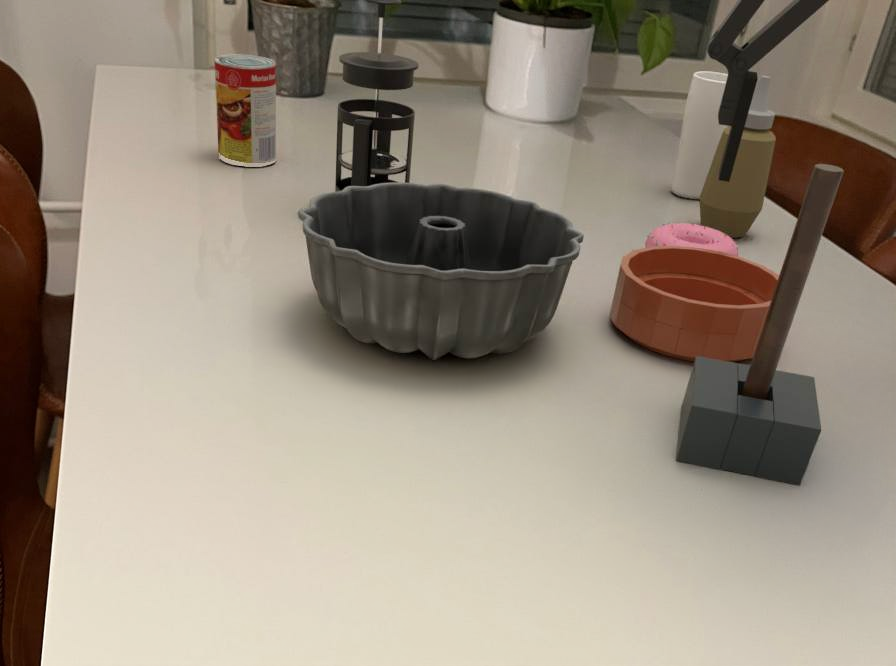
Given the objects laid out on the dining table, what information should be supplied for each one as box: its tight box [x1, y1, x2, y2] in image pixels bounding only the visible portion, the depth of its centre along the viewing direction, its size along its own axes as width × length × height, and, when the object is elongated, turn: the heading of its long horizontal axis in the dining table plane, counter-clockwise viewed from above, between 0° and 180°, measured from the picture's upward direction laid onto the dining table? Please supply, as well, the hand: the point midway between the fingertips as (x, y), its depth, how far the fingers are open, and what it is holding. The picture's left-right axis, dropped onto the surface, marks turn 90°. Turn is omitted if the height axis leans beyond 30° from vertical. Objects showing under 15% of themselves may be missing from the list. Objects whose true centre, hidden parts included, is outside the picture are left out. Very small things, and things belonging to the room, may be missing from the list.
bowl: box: [609, 246, 780, 363], centre depth 100 cm, size 17×17×6 cm
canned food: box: [214, 53, 277, 163], centre depth 132 cm, size 8×8×12 cm
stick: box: [741, 163, 844, 400], centre depth 76 cm, size 2×2×22 cm
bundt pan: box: [297, 181, 585, 361], centre depth 94 cm, size 26×26×10 cm
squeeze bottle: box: [699, 75, 777, 239], centre depth 123 cm, size 8×8×18 cm
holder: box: [675, 356, 822, 486], centre depth 82 cm, size 10×10×5 cm
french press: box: [334, 0, 419, 192], centre depth 114 cm, size 12×9×23 cm
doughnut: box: [644, 222, 740, 257], centre depth 115 cm, size 11×11×4 cm
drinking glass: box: [670, 70, 728, 200], centre depth 136 cm, size 7×7×15 cm
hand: (819, 192), depth 70 cm, fingers open, 13 cm apart
